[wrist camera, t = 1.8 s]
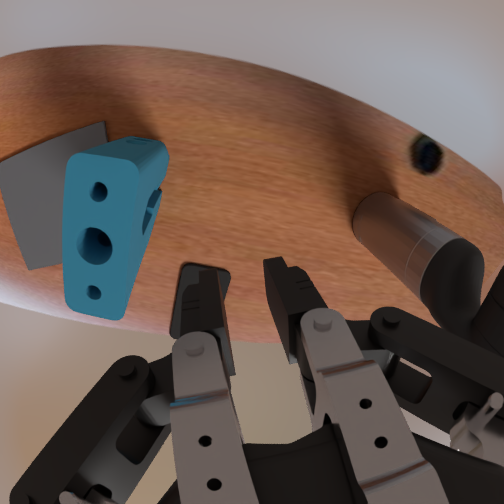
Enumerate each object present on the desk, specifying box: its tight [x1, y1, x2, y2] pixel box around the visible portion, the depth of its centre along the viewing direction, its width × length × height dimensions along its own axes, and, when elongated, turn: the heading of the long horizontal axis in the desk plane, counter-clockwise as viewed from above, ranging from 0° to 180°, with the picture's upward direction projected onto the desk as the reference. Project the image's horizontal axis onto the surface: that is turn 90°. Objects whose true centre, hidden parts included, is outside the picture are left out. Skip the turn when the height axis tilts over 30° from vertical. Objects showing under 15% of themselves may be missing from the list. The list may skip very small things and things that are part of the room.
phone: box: [170, 263, 231, 340], centre depth 45 cm, size 7×1×15 cm
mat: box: [0, 121, 108, 270], centre depth 33 cm, size 20×18×1 cm
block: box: [62, 136, 169, 320], centre depth 26 cm, size 12×5×20 cm, turn 163°
